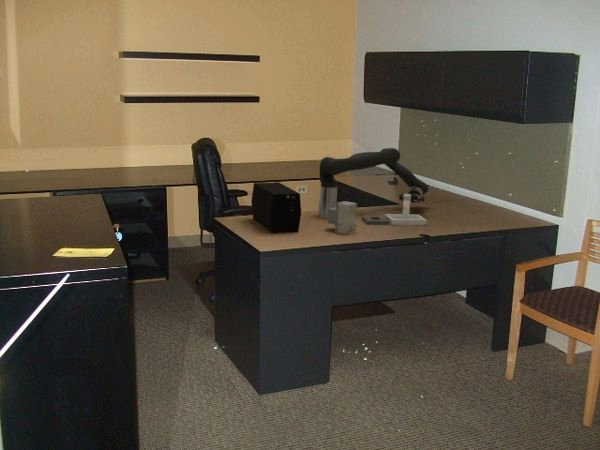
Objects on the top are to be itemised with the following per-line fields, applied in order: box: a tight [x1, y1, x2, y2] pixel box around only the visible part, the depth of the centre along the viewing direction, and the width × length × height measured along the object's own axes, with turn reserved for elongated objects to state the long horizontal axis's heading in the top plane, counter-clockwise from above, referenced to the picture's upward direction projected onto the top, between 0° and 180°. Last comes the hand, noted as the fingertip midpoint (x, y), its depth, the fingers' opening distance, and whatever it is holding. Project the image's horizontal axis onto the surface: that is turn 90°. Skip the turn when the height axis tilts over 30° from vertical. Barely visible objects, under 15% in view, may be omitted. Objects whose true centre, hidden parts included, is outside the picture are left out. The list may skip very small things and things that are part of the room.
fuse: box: [402, 193, 411, 219], centre depth 364 cm, size 4×4×15 cm
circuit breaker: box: [327, 200, 358, 235], centre depth 340 cm, size 8×14×15 cm, turn 56°
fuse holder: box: [361, 215, 390, 226], centre depth 363 cm, size 12×12×2 cm
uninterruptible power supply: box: [251, 181, 302, 235], centre depth 344 cm, size 16×34×20 cm, turn 21°
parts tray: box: [384, 213, 428, 226], centre depth 365 cm, size 20×14×3 cm
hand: (410, 199), depth 371 cm, fingers open, 8 cm apart
